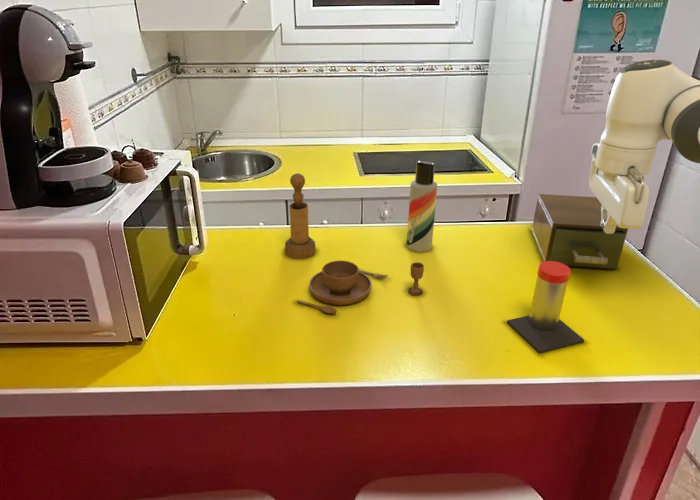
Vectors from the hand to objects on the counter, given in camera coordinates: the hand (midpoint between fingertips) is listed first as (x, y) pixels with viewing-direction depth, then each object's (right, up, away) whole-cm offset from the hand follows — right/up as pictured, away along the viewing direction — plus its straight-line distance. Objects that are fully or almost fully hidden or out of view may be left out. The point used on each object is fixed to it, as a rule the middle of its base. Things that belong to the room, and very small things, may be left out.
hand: (606, 230), depth 97 cm
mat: (-15, -18, -8) cm, 24 cm away
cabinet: (+2, -4, +20) cm, 20 cm away
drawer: (+1, -4, +16) cm, 17 cm away
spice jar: (-14, -16, -7) cm, 23 cm away
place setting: (-46, -13, +2) cm, 48 cm away
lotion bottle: (-32, -3, +20) cm, 38 cm away
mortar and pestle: (-59, -4, +17) cm, 62 cm away
